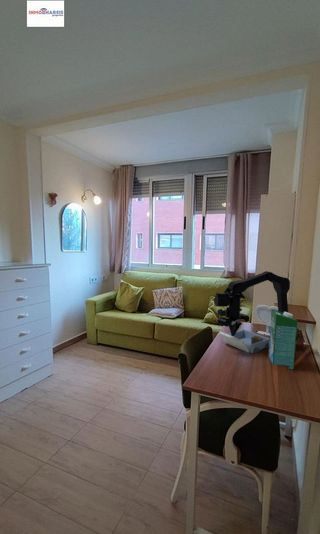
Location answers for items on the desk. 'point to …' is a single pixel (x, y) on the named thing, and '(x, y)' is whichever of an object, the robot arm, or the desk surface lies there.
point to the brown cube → (256, 339)
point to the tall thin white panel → (234, 341)
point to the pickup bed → (246, 338)
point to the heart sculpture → (265, 316)
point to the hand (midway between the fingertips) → (232, 335)
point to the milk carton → (282, 338)
